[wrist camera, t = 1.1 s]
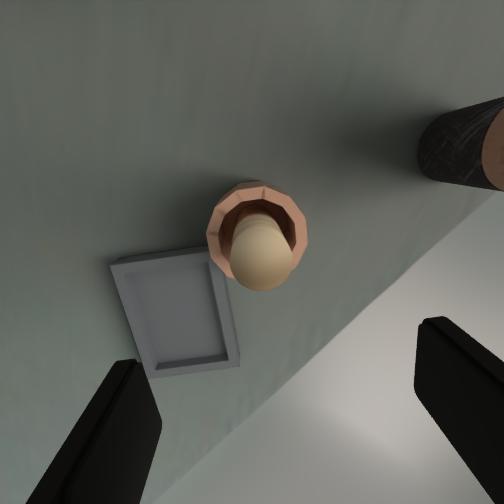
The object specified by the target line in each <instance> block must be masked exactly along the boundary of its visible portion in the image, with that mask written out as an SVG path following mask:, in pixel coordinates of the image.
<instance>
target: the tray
mask: <svg viewBox="0 0 504 504" xmlns="http://www.w3.org/2000/svg"><path fill="white" fill-rule="evenodd" d="M110 268H111V271H112V274H113V277H114V280H115V283H116V286H117V289H118V292H119V295H120V298H121V301H122V304H123V307H124V310H125V313H126V315H127V318H128V321H129V324H130V327H131V330H132V333H133V336H134V339H135V342H136V345H137V348H138V351H139V354H140V357H141V360H142V363H143V365H144V368H145V371H146V374H147V377H148V379H152V378H159V377H167V376H174V375H182V374H189V373H197V372H204V371H211V370H219V369H226V368H234V367H240V352H239V346H238V341H237V336H236V330H235V325H234V320H233V315H232V309H231V304H230V299H229V293H228V288H227V283H226V278H225V273H224V272H223V271H222V270H221V269H220V267H219V266H218V265H217V264H216V263H215V262H214V261H213V260H212V259H211V256H210V251H209V246H208V245H206V246H199V247H192V248H185V249H178V250H171V251H164V252H157V253H150V254H143V255H136V256H129V257H122V258H119V259H117V260H116V261H115V262H114V263H112V264H111V265H110Z"/></svg>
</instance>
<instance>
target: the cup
mask: <svg viewBox="0 0 504 504" xmlns="http://www.w3.org/2000/svg"><path fill="white" fill-rule="evenodd" d="M251 204H259V205H263V206H265V207H266V208H267V209H269V210H270V212H271V213H272V215H273V217H274V219H275V221H276V222H277V224H278V226H279V228H280V230H281V232H282V234H283V236H284V238H285V240H286V241H287V243H288V245H289V247H290V249H291V252H292V256H293V266H292V270H293V269H294V268H295V267H297V265H298V263H299V261H300V259H301V256H302V254H303V252H304V250H305V248H306V246H307V244H308V243H307V230H306V218H305V217H304V216H303V214H302V213H301V211H300V210H299V209H298V207H297V206H296V204H295V203H294V202H293V200H292V199H291V198H290V197H289V196H288V195H287V194H286V193H284V192H283V191H282V190H281V189H279V188H277V187H274V186H272V185H269V184H267V183H265V182H262V181H260V180H259V181H252V182H246V183H239V184H237V185H236V186H235V187H233V188H232V189H231V190H230V191H228V192H227V193H226V194H225V195H223V196H222V197H221V199H220V200H219V202H218V203H217V205H216V207H215V209H214V211H213V214H212V217H211V220H210V223H209V225H208V228H207V231H206V236H207V241H208V246H209V251H210V256H211V259H212V260H213V261H214V262H215V263H216V264H217V265H218V266H219V267H220V269H221V270H222V271H223V272H224V273H225V274H226V275H227V276H228V277H230V278H233V279H235V277H234V276H233V274H232V272H231V268H230V255H231V248H232V241H233V234H234V226H235V220H236V216H237V214H238V213H239V211H240V210H241V209H242V208H244V207H245V206H247V205H251Z"/></svg>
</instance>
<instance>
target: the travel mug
mask: <svg viewBox="0 0 504 504" xmlns="http://www.w3.org/2000/svg"><path fill="white" fill-rule="evenodd" d="M418 162H419V165H420V168H421V170H422V171H423V172H424V173H425V175H427V176H428V177H429V178H431V179H433V180H436V181H440V182H446V183H452V184H458V185H465V186H471V187H478V188H484V189H491V190H497V191H504V97H501V98H497V99H494V100H490V101H487V102H483V103H480V104H476V105H473V106H469V107H465V108H462V109H459V110H455V111H452V112H449V113H447V114H444V115H442V116H440V117H439V118H438V119H436V120H435V121H434V122H433V123H431V124H430V126H429V127H428V128H427V129H426V131H425V132H424V134H423V136H422V138H421V140H420V143H419V147H418Z"/></svg>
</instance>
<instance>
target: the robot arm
mask: <svg viewBox="0 0 504 504" xmlns="http://www.w3.org/2000/svg"><path fill="white" fill-rule="evenodd" d="M414 390H415V393H416V395H417V397H418V399H419V400H420V401H421V403H422V404H423V406H424V407H425V408H426V410H427V411H428V412H429V414H430V415H431V417H432V418H433V419H434V421H435V422H436V423H437V425H438V426H439V427H440V429H441V430H442V432H443V433H444V434H445V436H446V437H447V438H448V440H449V441H450V443H451V444H452V445H453V447H454V448H455V450H456V451H457V452H458V454H459V455H460V456H461V458H462V459H463V461H464V462H465V463H466V464H467V466H468V467H469V469H470V470H471V472H472V473H473V474H474V476H475V477H476V478H477V480H478V481H479V483H480V484H481V485H482V487H483V488H484V489H485V491H486V492H487V494H488V495H489V496H490V498H491V499H492V501H493V502H494V503H495V504H504V362H503V361H502V360H500V359H499V358H498V357H497V356H495V355H494V354H493V353H492V352H490V351H489V350H487V349H486V348H485V347H484V346H482V345H481V344H480V343H479V342H477V341H476V340H475V339H474V338H472V337H471V336H470V335H469V334H467V333H466V332H465V331H463V330H462V329H461V328H460V327H458V326H457V325H456V324H454V323H453V322H452V321H451V320H449V319H448V318H447V317H444V316H440V317H433V318H426V319H424V320H423V322H422V324H420V325H419V326H418V337H417V349H416V362H415V376H414ZM161 430H162V419H161V416H160V413H159V411H158V408H157V405H156V402H155V399H154V396H153V393H152V391H151V388H150V385H149V382H148V379H147V376H146V374H145V371H144V368H143V365H142V363H140V362H139V363H138V362H137V360H136V359H128V360H120V361H116V362H115V363H114V364H113V366H112V368H111V369H110V371H109V372H108V374H107V375H106V377H105V379H104V380H103V382H102V383H101V385H100V387H99V388H98V390H97V391H96V393H95V394H94V396H93V398H92V399H91V401H90V402H89V404H88V405H87V407H86V409H85V410H84V412H83V413H82V415H81V417H80V418H79V420H78V421H77V423H76V424H75V426H74V428H73V429H72V431H71V432H70V434H69V436H68V437H67V439H66V440H65V442H64V443H63V445H62V447H61V448H60V450H59V451H58V453H57V455H56V456H55V458H54V459H53V461H52V462H51V464H50V466H49V467H48V469H47V470H46V472H45V473H44V475H43V477H42V478H41V480H40V481H39V483H38V485H37V486H36V488H35V489H34V491H33V492H32V494H31V496H30V497H29V499H28V500H27V502H26V504H139V503H140V500H141V497H142V494H143V490H144V487H145V484H146V480H147V477H148V474H149V470H150V467H151V464H152V460H153V457H154V454H155V451H156V447H157V444H158V441H159V437H160V434H161Z"/></svg>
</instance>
